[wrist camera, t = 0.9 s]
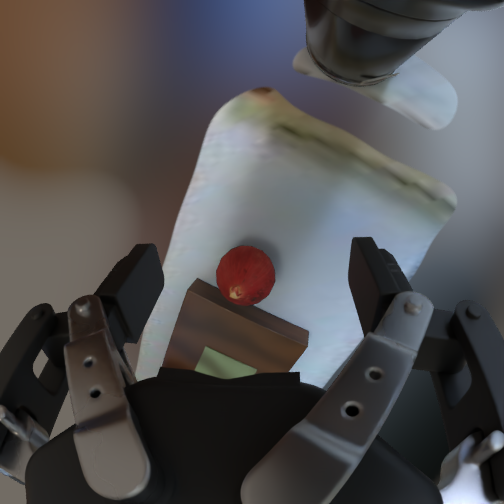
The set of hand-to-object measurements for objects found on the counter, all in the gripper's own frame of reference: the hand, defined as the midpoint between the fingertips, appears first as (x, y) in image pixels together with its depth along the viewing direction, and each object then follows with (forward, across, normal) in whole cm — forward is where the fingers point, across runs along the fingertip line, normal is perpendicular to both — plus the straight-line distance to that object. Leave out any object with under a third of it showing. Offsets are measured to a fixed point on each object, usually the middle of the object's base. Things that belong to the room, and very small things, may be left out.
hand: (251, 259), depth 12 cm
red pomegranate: (+18, +2, +11) cm, 21 cm away
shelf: (+16, +6, +24) cm, 29 cm away
